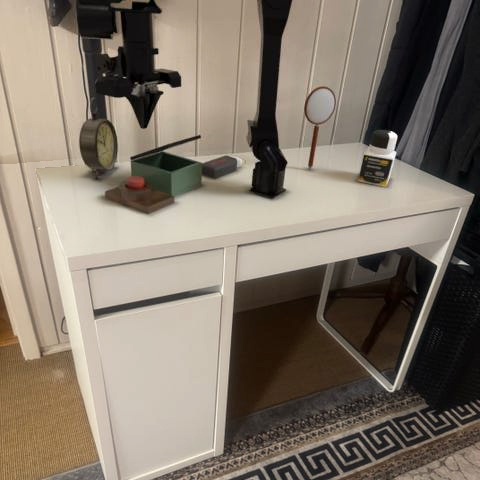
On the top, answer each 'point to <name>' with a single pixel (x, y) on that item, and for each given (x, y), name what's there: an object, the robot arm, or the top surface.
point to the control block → (140, 197)
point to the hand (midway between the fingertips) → (143, 128)
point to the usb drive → (220, 166)
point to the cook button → (135, 182)
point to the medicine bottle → (379, 158)
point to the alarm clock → (98, 143)
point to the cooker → (168, 172)
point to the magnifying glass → (318, 112)
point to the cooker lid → (165, 147)
